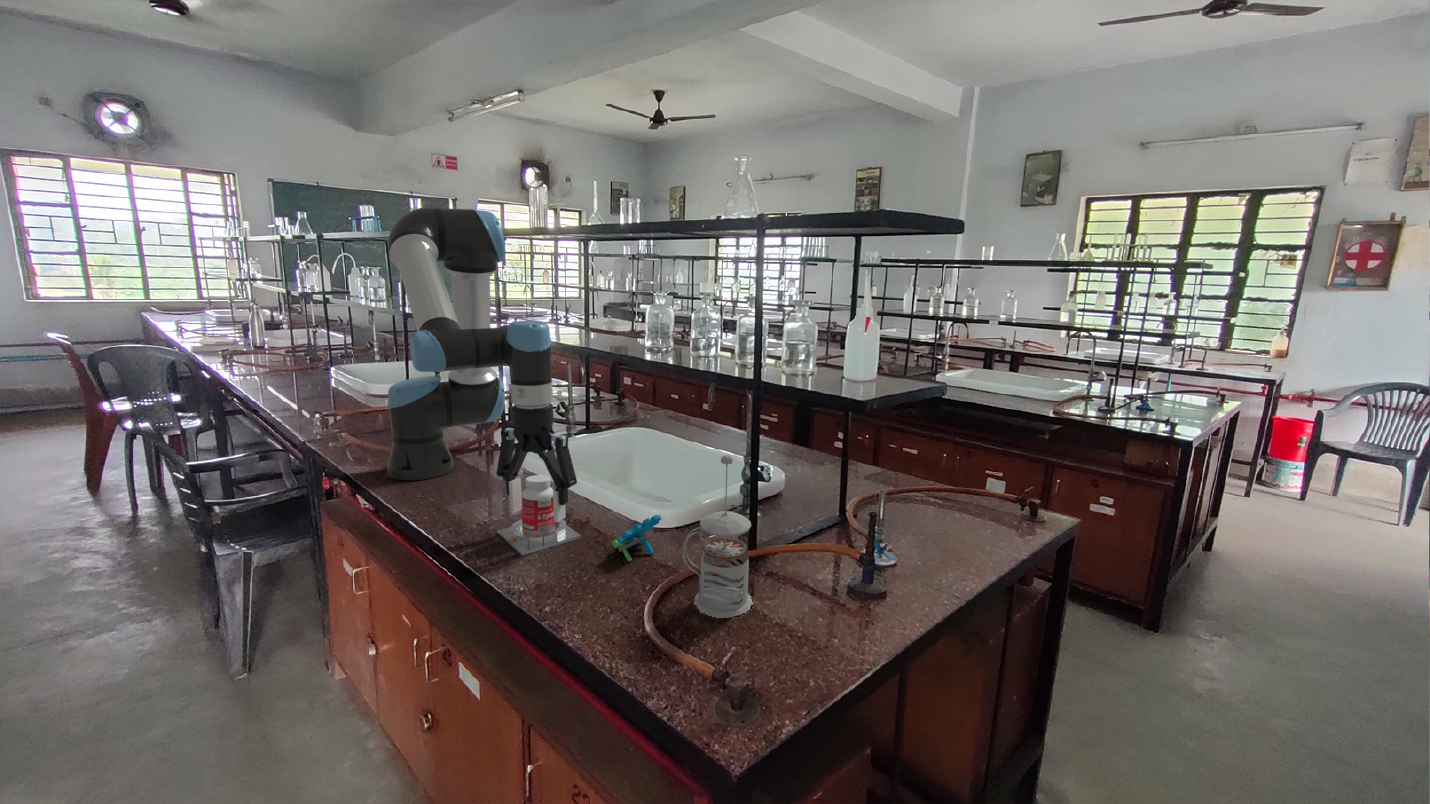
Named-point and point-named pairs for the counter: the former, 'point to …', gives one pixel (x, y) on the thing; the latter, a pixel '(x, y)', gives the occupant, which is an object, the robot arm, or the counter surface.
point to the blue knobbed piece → (636, 532)
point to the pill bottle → (537, 506)
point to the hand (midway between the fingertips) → (538, 515)
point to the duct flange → (537, 537)
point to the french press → (723, 563)
